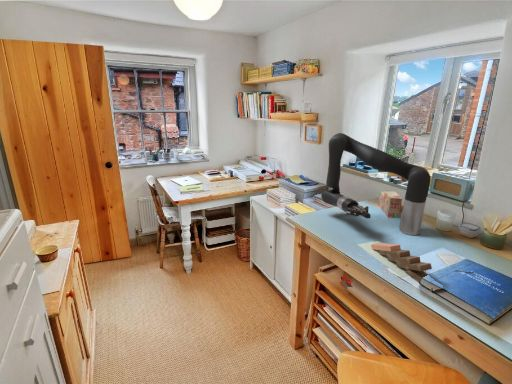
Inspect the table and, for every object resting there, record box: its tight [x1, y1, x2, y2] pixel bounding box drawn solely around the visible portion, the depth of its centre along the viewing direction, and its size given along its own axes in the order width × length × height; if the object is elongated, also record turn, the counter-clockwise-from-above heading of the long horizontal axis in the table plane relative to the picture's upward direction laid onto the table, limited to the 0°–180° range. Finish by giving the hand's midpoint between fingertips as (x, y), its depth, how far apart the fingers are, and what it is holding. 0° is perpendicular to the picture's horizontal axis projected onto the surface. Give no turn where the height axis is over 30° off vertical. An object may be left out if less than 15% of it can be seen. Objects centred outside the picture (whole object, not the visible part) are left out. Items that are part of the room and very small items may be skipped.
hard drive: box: [435, 253, 463, 267], centre depth 117 cm, size 2×8×12 cm
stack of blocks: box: [377, 191, 403, 219], centre depth 172 cm, size 21×6×12 cm, turn 172°
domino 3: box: [396, 261, 433, 271], centre depth 109 cm, size 2×5×12 cm
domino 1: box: [379, 249, 411, 258], centre depth 119 cm, size 2×5×12 cm
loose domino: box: [371, 242, 402, 251], centre depth 123 cm, size 2×5×12 cm
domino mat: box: [357, 240, 427, 278], centre depth 122 cm, size 27×12×1 cm, turn 17°
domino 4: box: [405, 269, 433, 293], centre depth 105 cm, size 2×5×12 cm
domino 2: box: [387, 255, 421, 264], centre depth 114 cm, size 2×5×12 cm
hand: (369, 216), depth 133 cm, fingers closed
